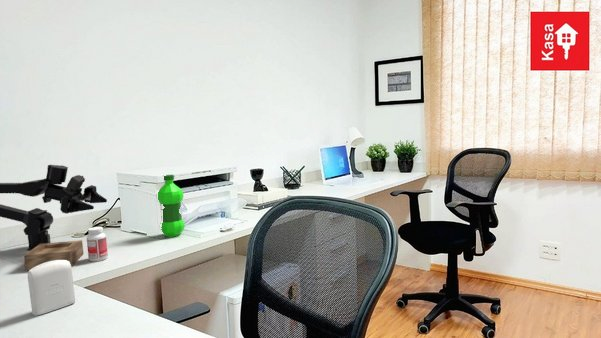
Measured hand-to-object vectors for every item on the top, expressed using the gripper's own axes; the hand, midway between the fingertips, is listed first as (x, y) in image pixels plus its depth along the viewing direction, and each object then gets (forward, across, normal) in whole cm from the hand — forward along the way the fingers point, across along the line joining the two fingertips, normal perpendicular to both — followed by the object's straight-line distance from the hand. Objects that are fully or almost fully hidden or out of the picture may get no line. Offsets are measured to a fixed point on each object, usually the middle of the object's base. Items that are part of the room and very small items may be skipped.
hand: (100, 204), depth 169 cm
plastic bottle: (+26, +14, +11) cm, 31 cm away
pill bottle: (+11, -17, +13) cm, 24 cm away
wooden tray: (-2, -20, +16) cm, 26 cm away
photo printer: (+21, -56, +6) cm, 60 cm away
